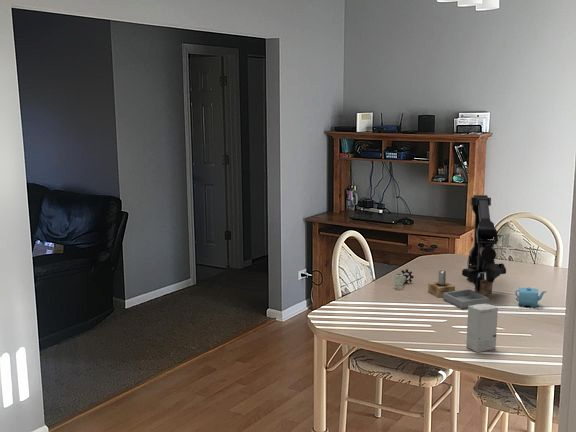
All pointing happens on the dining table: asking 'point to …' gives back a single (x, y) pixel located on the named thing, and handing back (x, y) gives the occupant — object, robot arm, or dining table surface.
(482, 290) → the walnut block
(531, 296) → the teapot
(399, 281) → the valve
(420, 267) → the dining table surface
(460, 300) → the tray
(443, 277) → the gauge pin
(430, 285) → the oak block
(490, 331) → the skincare box
